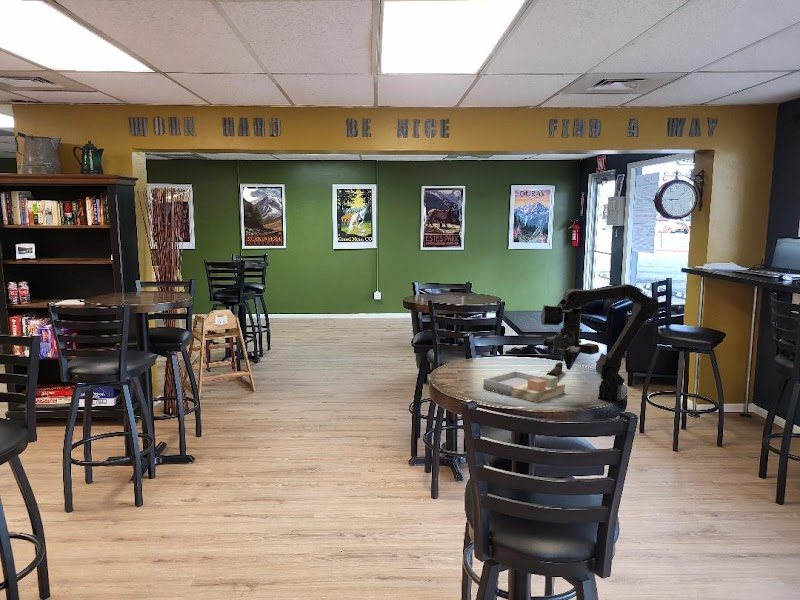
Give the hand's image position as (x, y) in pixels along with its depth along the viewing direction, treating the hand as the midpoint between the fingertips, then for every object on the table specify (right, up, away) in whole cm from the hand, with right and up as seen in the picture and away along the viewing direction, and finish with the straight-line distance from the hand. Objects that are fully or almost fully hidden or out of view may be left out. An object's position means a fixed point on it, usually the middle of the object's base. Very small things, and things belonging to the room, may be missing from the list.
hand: (568, 369), depth 198 cm
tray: (-17, -8, +13) cm, 23 cm away
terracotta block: (-11, -7, +1) cm, 13 cm away
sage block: (-6, -6, +6) cm, 10 cm away
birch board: (-10, -9, +5) cm, 14 cm away
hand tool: (+4, -7, +32) cm, 33 cm away
